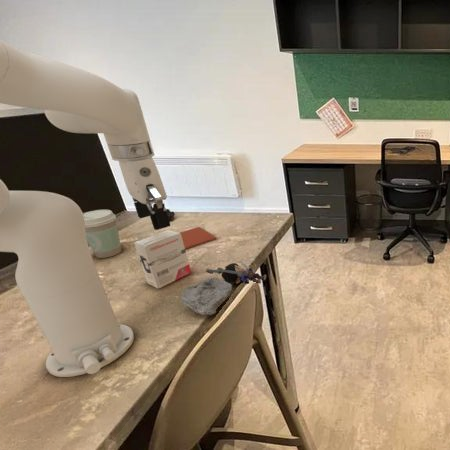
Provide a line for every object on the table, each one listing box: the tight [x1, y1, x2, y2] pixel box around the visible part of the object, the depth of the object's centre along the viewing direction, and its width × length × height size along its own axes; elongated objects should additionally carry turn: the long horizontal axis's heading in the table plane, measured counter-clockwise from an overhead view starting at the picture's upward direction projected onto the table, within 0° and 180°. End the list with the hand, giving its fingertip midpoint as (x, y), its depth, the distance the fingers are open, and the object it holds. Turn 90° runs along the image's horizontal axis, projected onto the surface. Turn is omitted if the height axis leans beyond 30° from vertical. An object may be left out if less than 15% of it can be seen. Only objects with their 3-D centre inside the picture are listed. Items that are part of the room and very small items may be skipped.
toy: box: [205, 260, 267, 285], centre depth 85 cm, size 6×6×15 cm
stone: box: [180, 276, 233, 316], centre depth 76 cm, size 9×7×10 cm
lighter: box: [166, 208, 176, 221], centre depth 121 cm, size 8×2×5 cm
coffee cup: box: [82, 209, 123, 259], centre depth 95 cm, size 8×8×12 cm
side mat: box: [179, 226, 217, 251], centre depth 107 cm, size 12×10×1 cm
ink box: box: [133, 229, 192, 289], centre depth 85 cm, size 8×5×12 cm, turn 152°
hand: (154, 221), depth 81 cm, fingers open, 9 cm apart
